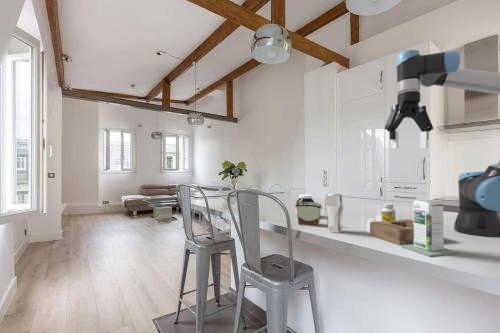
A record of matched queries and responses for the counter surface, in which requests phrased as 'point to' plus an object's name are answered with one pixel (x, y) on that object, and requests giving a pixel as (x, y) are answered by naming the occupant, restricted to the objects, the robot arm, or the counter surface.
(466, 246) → the counter surface
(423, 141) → the robot arm
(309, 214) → the food container
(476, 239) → the counter surface
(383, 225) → the walnut block
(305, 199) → the spread jar
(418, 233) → the syrup box
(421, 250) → the sage rubber mat
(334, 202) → the beer glass
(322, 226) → the counter surface
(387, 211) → the supplement bottle
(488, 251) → the counter surface
